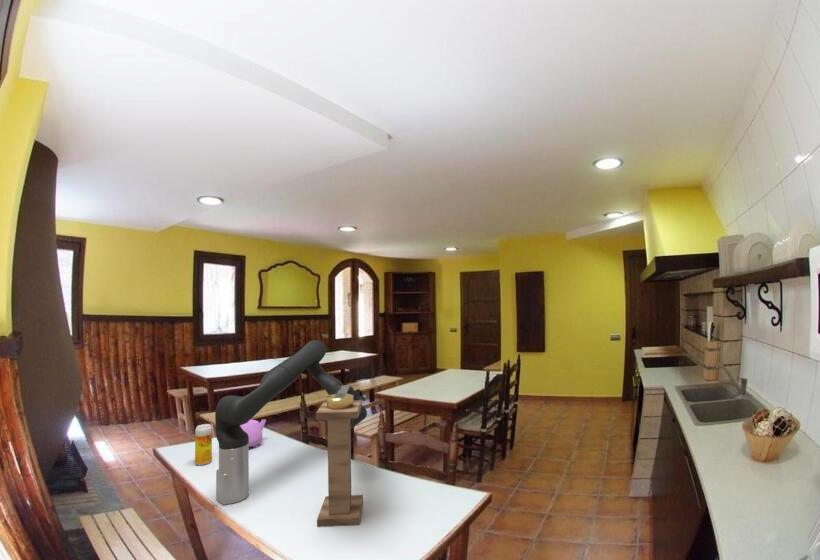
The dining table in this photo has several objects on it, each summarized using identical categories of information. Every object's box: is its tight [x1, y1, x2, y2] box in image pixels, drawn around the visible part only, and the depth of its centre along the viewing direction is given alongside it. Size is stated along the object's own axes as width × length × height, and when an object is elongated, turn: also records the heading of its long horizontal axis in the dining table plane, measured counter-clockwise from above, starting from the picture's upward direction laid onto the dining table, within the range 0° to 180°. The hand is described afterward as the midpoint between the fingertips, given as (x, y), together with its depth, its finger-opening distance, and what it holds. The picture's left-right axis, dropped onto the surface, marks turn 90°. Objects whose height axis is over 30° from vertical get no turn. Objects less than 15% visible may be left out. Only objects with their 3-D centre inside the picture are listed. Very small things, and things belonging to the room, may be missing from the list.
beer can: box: [194, 423, 213, 466], centre depth 166 cm, size 6×6×15 cm
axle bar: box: [326, 384, 353, 410], centre depth 131 cm, size 21×8×3 cm, turn 2°
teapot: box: [240, 418, 267, 448], centre depth 184 cm, size 20×12×13 cm, turn 141°
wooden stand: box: [315, 400, 364, 528], centre depth 124 cm, size 14×12×32 cm
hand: (344, 388), depth 136 cm, fingers closed on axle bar, 3 cm apart
